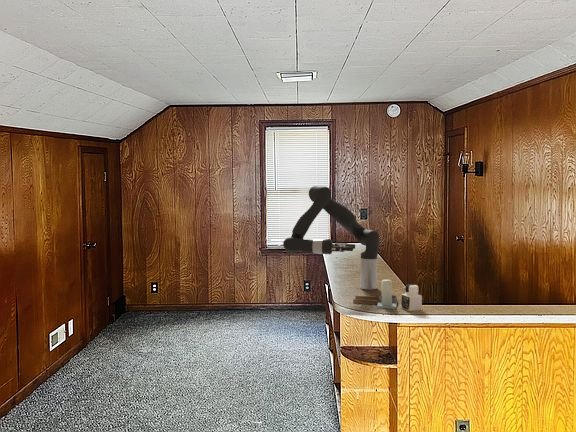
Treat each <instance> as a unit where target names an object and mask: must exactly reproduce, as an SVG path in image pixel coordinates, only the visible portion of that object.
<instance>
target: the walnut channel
mask: <svg viewBox="0 0 576 432" xmlns="http://www.w3.org/2000/svg"><path fill="white" fill-rule="evenodd" d="M379 297H380V296H373V295H372V296H370V295H355V298H353V300H352V302H353V304H363V305H364V304H365V305H366V304H367V305H369V304H370V305H378V302H379Z"/></svg>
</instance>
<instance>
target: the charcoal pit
mask: <svg viewBox="0 0 576 432" xmlns="http://www.w3.org/2000/svg"><path fill="white" fill-rule="evenodd" d="M378 297H379V301H378V302H380V303H382V294H379V296H378ZM397 302H398V295H393V294H392V303H397ZM397 304H398V303H397Z"/></svg>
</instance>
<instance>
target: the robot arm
mask: <svg viewBox="0 0 576 432" xmlns="http://www.w3.org/2000/svg"><path fill="white" fill-rule="evenodd" d="M308 196H309V197H308V198H309V199H310V201H311V202H313V203H312V204H311V206H310V207H309V208H308V209H307V210H306V211H305V212H304V213H303V214H302V215H301V216H300V217H299V219H298V220H297V221H296V223H295V225H294V227H293V228H292V233H291V236H290V237H287V238H285V239H284V240H283V242H282V244H283V245H282V246H283V248H284V250H285V251H286V252H287V254H290V255H294V254H296V253H297V252H298V251H299V252H303V253H306V254H316V255H317V254H318V255H332V253H333V252H336V253H337V252H341V253H345V252H353V251H354V250H355V249H356V244H352V243H347V242H335V243H333V240H332V239H324V238H322V239H321V238H319V239H318V238H317V239H309V238H308V239H306V238H305V239H304V237H305V235H306V234H307V232H308V231H309V229H310V227H311V226H312V224H313V223H314V221H315V219H316V218H317V217H318V216H319V214H320V213H321V212H322V210H323V211H325V212H326V213H327V214H328V215H329V216H330V217H331V218H332V219H334V220H335V221H336V222H337V224H339V225H340V226H341V227H343V228H344V229H345V230H346V231H347V232H349V233H350V234H351V235H352V236H353V237H354V238H355V240H357V242H358V243H359V244H360V245H362V246H365V250H364V251H363V252H361V253H360V281H359V282H360V283H359V286H360V289H362V290H368V291H369V290H370V291H371V290H376V289H378V288H377V287H378V286H377V285H378V255H379V250H380V236H379V235H380V234H379V232H378V231H376V230H373V229H369V228H365V227H364V226H362V225H361V224H360V223H359V222H358V221H357V217H356V216H355V214H354V213H353V212H352V211H351V210H350V209H349V208H348V207H347V206H345V205H343V204H341V203H340V202H338V201H336V200H334V199H332V198H331V197H332V190H331V189H330V188H329V187H327V186H325V185H324V186H322V185H313V186H311V187H310V189H309V190H308Z"/></svg>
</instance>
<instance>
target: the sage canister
mask: <svg viewBox="0 0 576 432" xmlns="http://www.w3.org/2000/svg"><path fill="white" fill-rule="evenodd" d="M381 295H382V305H384V306H390V305H392V295H393V280H391V279H382V280H381Z"/></svg>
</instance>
